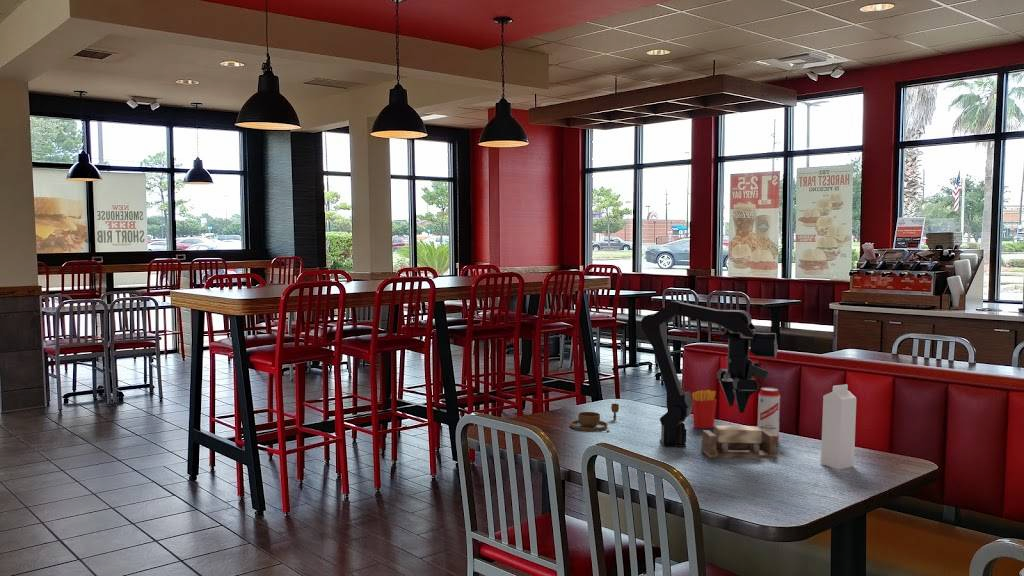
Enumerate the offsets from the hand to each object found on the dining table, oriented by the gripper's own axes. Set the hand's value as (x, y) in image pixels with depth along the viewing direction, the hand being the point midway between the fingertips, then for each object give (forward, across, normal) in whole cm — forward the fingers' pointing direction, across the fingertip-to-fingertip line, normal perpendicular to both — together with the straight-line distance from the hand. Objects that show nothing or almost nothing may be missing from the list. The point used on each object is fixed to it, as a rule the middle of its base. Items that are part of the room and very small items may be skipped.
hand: (736, 409), depth 227 cm
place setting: (+14, +32, +34) cm, 48 cm away
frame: (+12, -2, 0) cm, 13 cm away
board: (+9, -2, 0) cm, 9 cm away
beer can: (+13, +12, -14) cm, 23 cm away
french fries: (+13, +31, 0) cm, 34 cm away
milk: (+12, -14, -24) cm, 30 cm away
